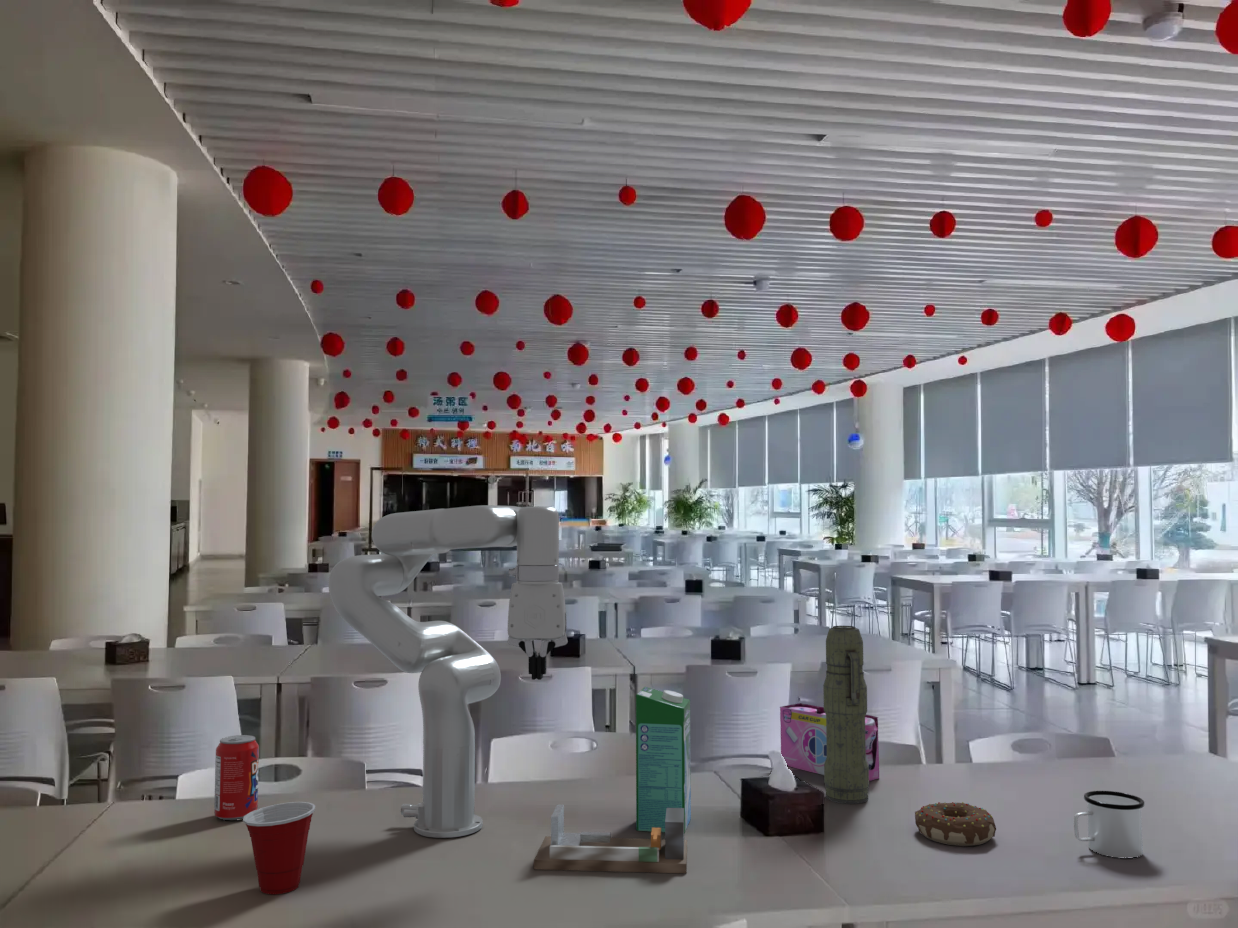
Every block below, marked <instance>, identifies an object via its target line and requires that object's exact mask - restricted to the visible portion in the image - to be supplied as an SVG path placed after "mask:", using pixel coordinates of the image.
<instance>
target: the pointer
mask: <svg viewBox="0 0 1238 928" xmlns="http://www.w3.org/2000/svg"><path fill="white" fill-rule="evenodd" d="M650 839H651V847H657V848H659V850H661V839H662V832H661V828H652V831H651V832H650Z"/></svg>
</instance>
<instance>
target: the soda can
mask: <svg viewBox="0 0 1238 928" xmlns="http://www.w3.org/2000/svg"><path fill="white" fill-rule="evenodd" d="M259 753H260V745H259V744H258V741H256V736H254V735H251V734H250V735H249V734H248V735H247V734H238V735H230V736H224V737H222V738H220V739H219V743H218V745H217V746H216V748H215V758H214V759H215V761H214V762H215V763H214V764H215V766H214V767H215V768H214V807H213V808H214V809H213V810H214V816H215V818H218V819H220V820H221V819H223V820H222V821H225V820H237V819H243V818H244V816H245V815H247V814H248V813H250V812H252V811H254V810H257V809H259V807H258V806H259V758H260V757H259V756H260V755H259ZM237 821H238V820H237Z"/></svg>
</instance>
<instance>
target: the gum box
mask: <svg viewBox="0 0 1238 928" xmlns="http://www.w3.org/2000/svg"><path fill="white" fill-rule="evenodd" d="M779 710H780V712H779V718H780V719H779V720H780V755H781V754H782V756H783V757H784V759H785V761H786V763H787V765H788V766H787V767H790V768H794V769H797V770H802V771H806V772H810V773H814V774H819V775H820V776H821V775H822V776H824V763H825V761H826V758H827V739H826V714H825V711H824V706H820V705H815V704H814V705H813V704H807V703H803V702H799V703H793V704H787V705H782V706H779ZM865 742H866V761H867V763H868V766H869V782H870V781H874V780H877V779H880V753H879V752H880V751H879V745H880V744H879V716H874V715H869V714H866V716H865Z"/></svg>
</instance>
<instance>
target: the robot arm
mask: <svg viewBox="0 0 1238 928" xmlns="http://www.w3.org/2000/svg"><path fill="white" fill-rule="evenodd" d="M559 515H560V514H559V512H558V510H557V509H556V508H555V507H552V506H524V507H523V506H522V507H521V506H515V505H493V504H492V505H491V504H490V505H489V504H487V505H482V504H481V505H471V506H469V505H468V506H459V507H450V508H449V507H448V508H435V509H426V510H423V509H422V510H416V511H415V510H414V511H413V510H412V511H404V512H395V513H390V514H387V515H385V516H383V517H381V518H380V519H378V520H377V521H376V523H375V524H374V526H373V528H372V531H371V539H372V540H371V541H372V542H373V544H374V546H375V548H377V550H378V551H380V553H379V554H362V555H361V554H360V555H359V554H358V555H354V556H349V557H345V558H344V559H341V560H339V561H338V562H337V563H336V564H335V565H334V566H333V567H332V569H331V570H330V573H329V576H328V592H329V593H328V594H329V598H330V600H331V603H332V606H333V608H334V609H335V611H336V612H337V614H338V616H340V618H341V619H342V620H343V621H344V622H345V623H347V624H348V625H349V626H350V627H351V628H353V629H354V630H355V631H356V632H358V633H359V634H360V635H361V636H363V637H364V638H365V639H366V640H367V641H368V642H370V644H371V645H372V646H374V648H376V649H377V650H378V651H379V652H380V653H381V654H382V655H383V656H384V658H387V660H389V661H390V662H391V664H393V665H394V666H395V667H396V668H397V669H399V670H400V671H402V672H404V673H406V674H418V673H420V675H419V678H418V695H419V696H418V697H419V701H420V706H421V713H422V714H421V715H422V730H423V731H422V738H423V739H422V743H423V744H422V745H423V747H422V749H423V750H422V755H423V756H422V764H423V765H422V802H418V803H417V804H412V803H402V804H401V806H400V815H403V816H402V817H403V818H415V819H416V820H415V822H414V824H413V831H414V832H415V833H416V834H418V835H420V836H422V837H427V838H434V839H435V838H437V839H447V838H448V839H450V838H458V837H464V836H469V835H471V834H474V833H477V832H478V831H480V830H481V829H482V827H483V825H484V823H483V818H482V817H481V816H480V815H478V814H475V789H476V788H475V782H476V781H475V779H476V778H475V769H476V768H475V766H476V765H475V764H476V763H475V761H476V759H475V758H476V757H475V756H476V755H475V754H476V750H475V749H476V747H475V745H476V744H475V742H476V741H475V739H476V735H475V732H476V730H475V725H474V721H473V718H472V716H471V713H470V709H469V704H474V703H478V702H481V701H484V700H486V699H488V698H490V697H492V696H493V695H494V694H495V693H496V692H497V691H498V689H499V688H500V686H501V682H502V681H501V680H502V675H501V673H502V672H501V669H500V666H499V664H498V662H497V660H496V659H495V658H494V657H493V656H492V654H491V653H490V652H488V650H486V649H485V647H483V646H481V645H480V644H479V643H478V642H477V641H475V639H474V638H472V637H471V636H470V635H468V634H467V633H466V632H465V631H463V630H462V629H461V628H460V627H459V626H457V625H455V624H453V623H451V622H450V621H445V620H432V621H431V620H430V621H417V620H415V619H413V618H411V616H409V615H408V614H406V613H405V612H404V611H403V610H402V609H401V608H399V607H398V606H397V605H396V604H394V603H392V602H390V601H388V600H386V599H384V598H382V597H384V596H385V597H386V596H394V595H398V594H399V593H401V592H403V591H404V590H406V589H407V588H408V587H409V586H410V585H411V584H412V582H413V581H414V580H415V578H416V577H417V576H418V574H419V573H420V572H421V570H422V569H423V568H424V566H425V565H426V564H427V563H428V562H429V560H430V559H431V557H433V555H435V554H437V555H438V554H445V553H448V552H449V551H452V550H458V549H459V550H461V549H476V548H477V549H478V548H497V547H499V548H500V547H501V548H502V547H503V548H504V547H516V565H515V566H514V567H513V568H509V569H508V576H509V577H514V579H515V580H516V582H513V583H511V588H510V594H509V601H508V616H507V636H508V638H507V644H508V645H510V646H514V647H519V648H520V649H521V651H523V652H524V653H525V655H526V656H527V657H528V674H529V675H531V680H532V681H533V680H537V681H539V680H542V679H543V678H544V675H547V655H548V654H549V653H550V652H551V651H552V650H553V649H554V648H559V647H563V646H566V645H567V644H568V642H569V641H568V636H567V610H566V598H565V590H564V586H563V582H559V580H560V579H559V578H560V576H559V575H560V574H559V573H560V571H559V570H560V569H559V567H560V564H559V561H560V560H559V557H560V553H559V551H560V549H559V547H560V546H559V545H560V544H559V543H560V541H559V539H560V529H559V528H560V522H559V521H560V520H559V519H560V516H559ZM535 641H540V648H539V652H538V653H537V651H536V645H535Z"/></svg>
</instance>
